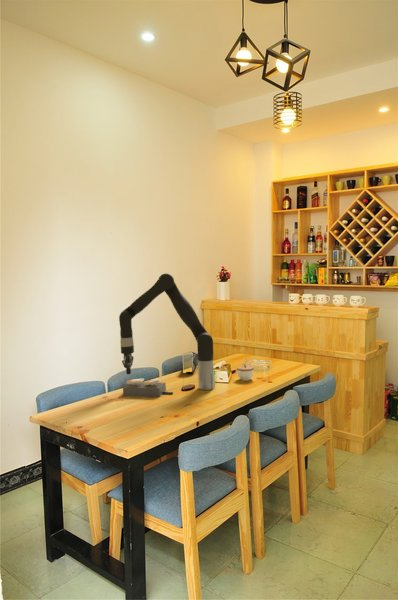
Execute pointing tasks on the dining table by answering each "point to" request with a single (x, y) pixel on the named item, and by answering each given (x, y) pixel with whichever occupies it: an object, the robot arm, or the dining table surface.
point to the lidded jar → (245, 372)
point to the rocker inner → (152, 381)
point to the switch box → (145, 390)
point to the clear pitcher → (194, 361)
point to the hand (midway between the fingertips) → (128, 374)
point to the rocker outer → (135, 381)
